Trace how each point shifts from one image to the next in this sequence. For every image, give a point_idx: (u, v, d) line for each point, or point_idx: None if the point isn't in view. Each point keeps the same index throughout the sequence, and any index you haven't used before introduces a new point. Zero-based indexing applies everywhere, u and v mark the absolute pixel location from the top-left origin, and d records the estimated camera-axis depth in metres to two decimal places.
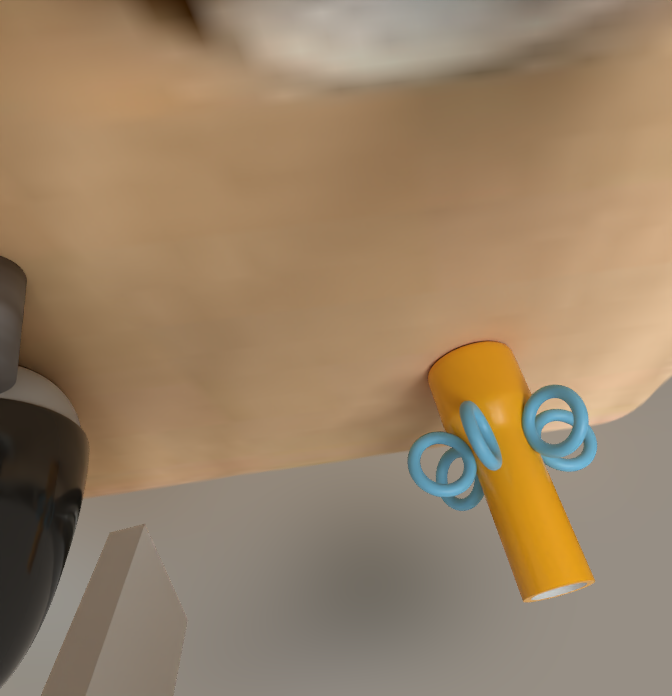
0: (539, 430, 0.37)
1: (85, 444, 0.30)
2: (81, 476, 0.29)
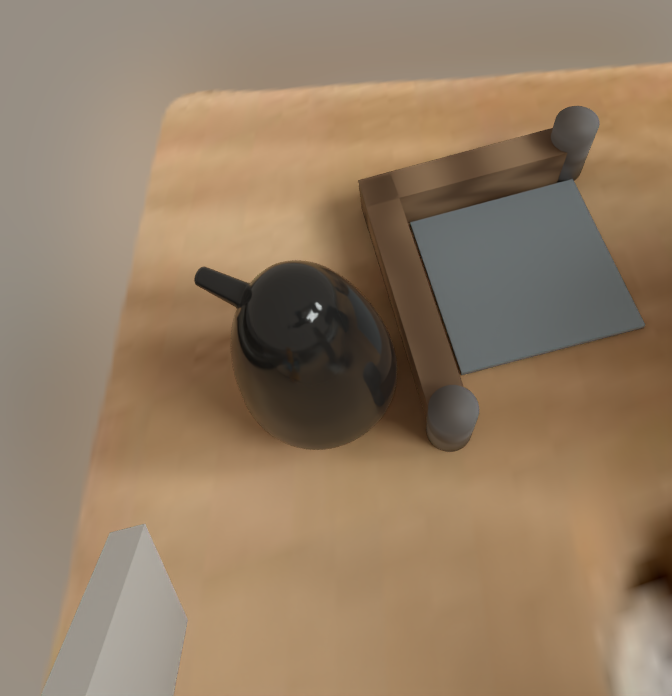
0: None
1: (317, 447, 0.36)
2: (312, 438, 0.35)
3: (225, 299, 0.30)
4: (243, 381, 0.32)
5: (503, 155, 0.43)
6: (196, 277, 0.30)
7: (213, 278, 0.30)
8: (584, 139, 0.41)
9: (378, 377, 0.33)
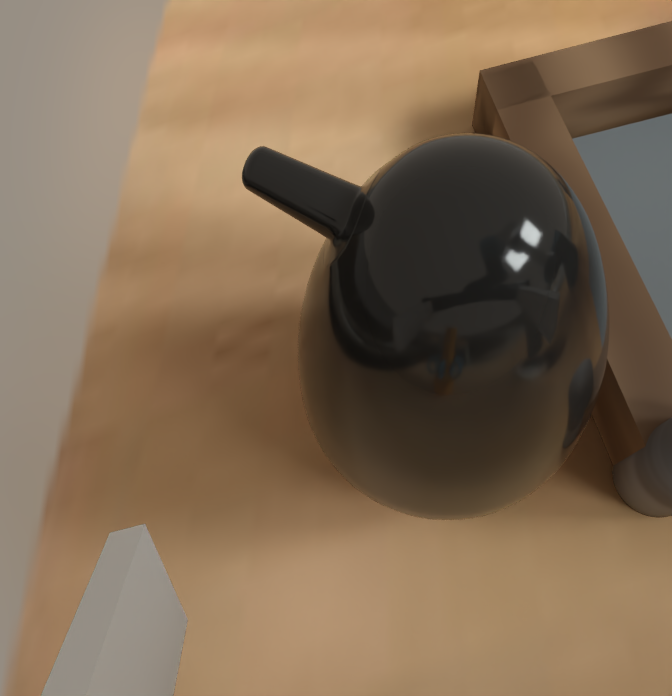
0: None
1: (451, 518, 0.20)
2: (452, 507, 0.18)
3: (310, 220, 0.14)
4: (332, 398, 0.16)
5: None
6: (247, 167, 0.13)
7: (286, 170, 0.13)
8: None
9: (598, 393, 0.17)
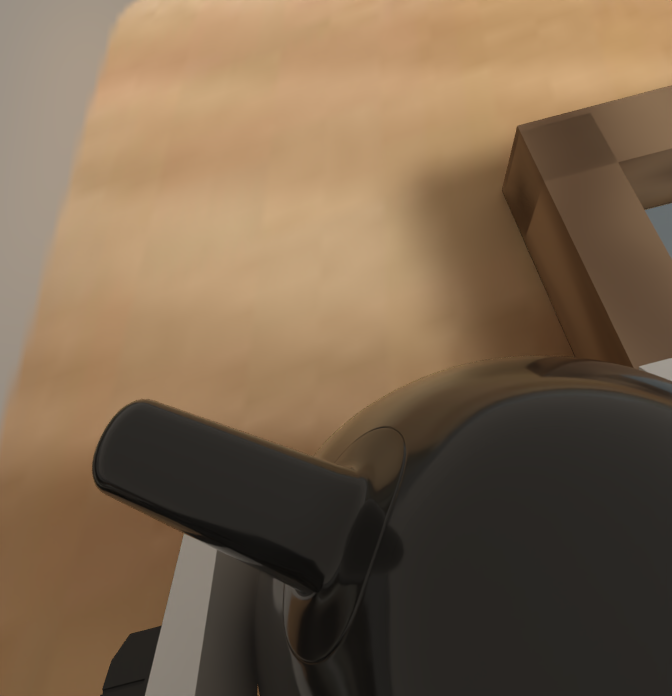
0: None
1: None
2: None
3: (247, 563, 0.06)
4: None
5: None
6: (98, 464, 0.06)
7: (187, 470, 0.06)
8: None
9: None
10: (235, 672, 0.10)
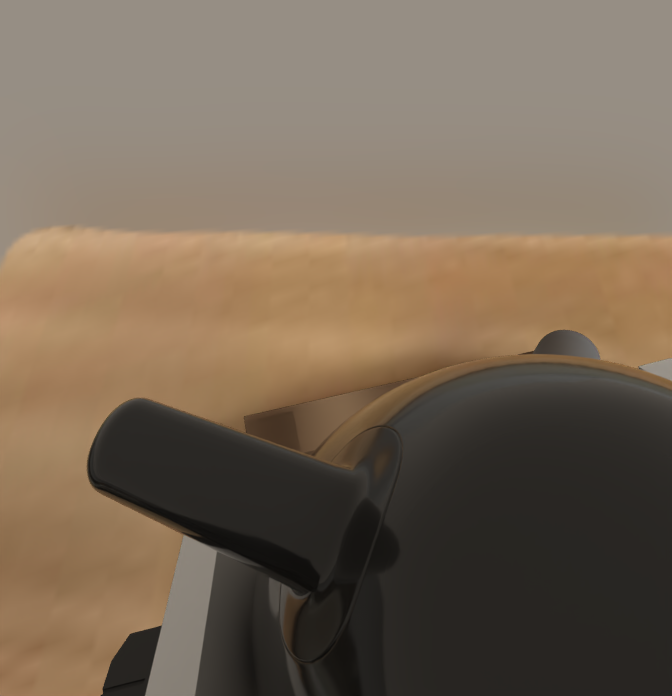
0: None
1: None
2: None
3: (242, 562, 0.06)
4: None
5: None
6: (93, 463, 0.06)
7: (182, 469, 0.06)
8: None
9: None
10: (235, 672, 0.10)
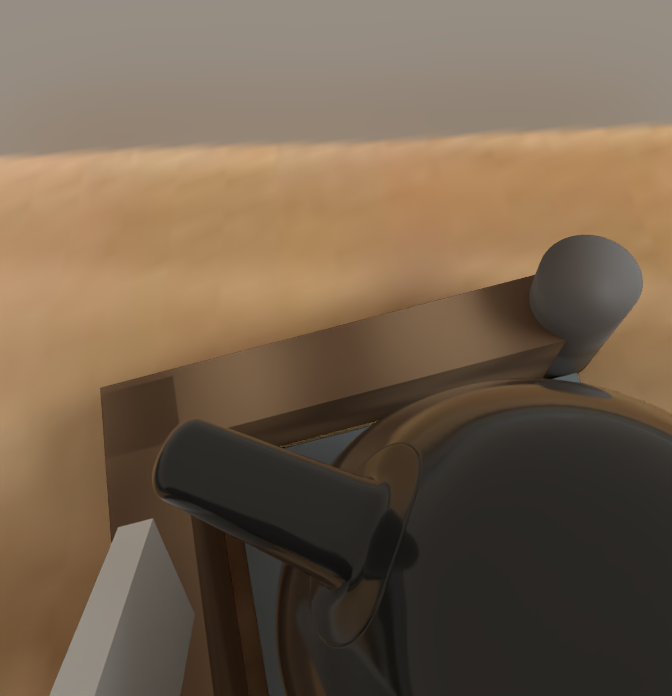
0: None
1: None
2: None
3: (282, 560, 0.07)
4: None
5: (422, 339, 0.19)
6: (159, 475, 0.07)
7: (234, 480, 0.07)
8: (608, 322, 0.17)
9: None
10: None
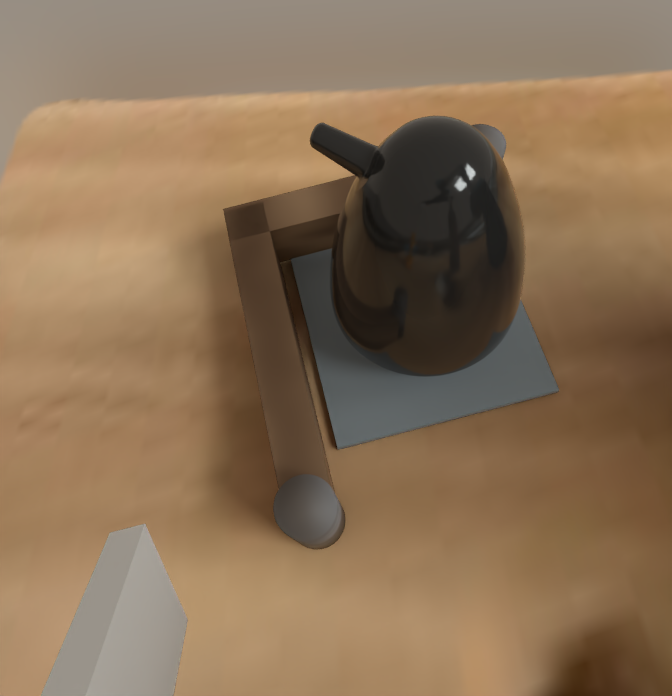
0: None
1: (430, 372, 0.30)
2: (430, 357, 0.28)
3: (348, 164, 0.24)
4: (357, 277, 0.26)
5: None
6: (314, 133, 0.24)
7: (335, 135, 0.24)
8: None
9: (518, 279, 0.27)
10: None
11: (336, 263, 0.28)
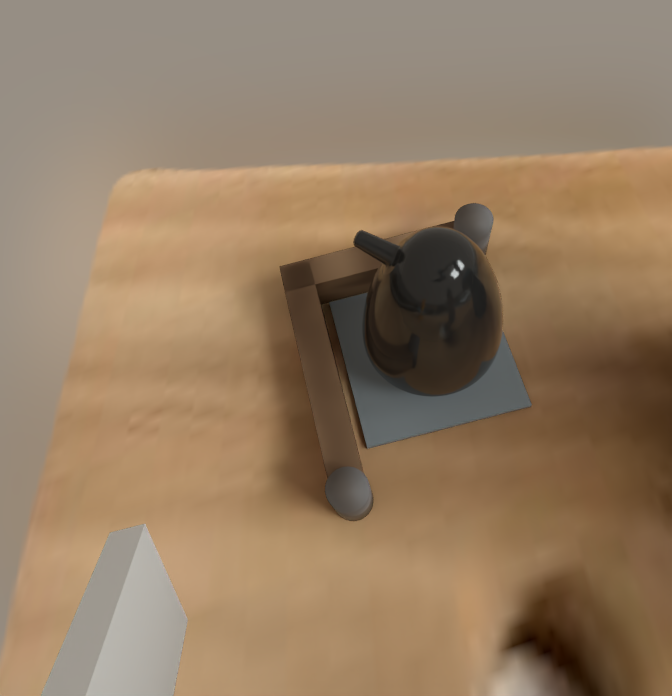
0: None
1: (435, 394, 0.42)
2: (435, 384, 0.40)
3: (379, 258, 0.36)
4: (384, 330, 0.38)
5: None
6: (356, 238, 0.35)
7: (371, 240, 0.35)
8: (479, 235, 0.46)
9: (497, 330, 0.39)
10: None
11: (369, 318, 0.40)
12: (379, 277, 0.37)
